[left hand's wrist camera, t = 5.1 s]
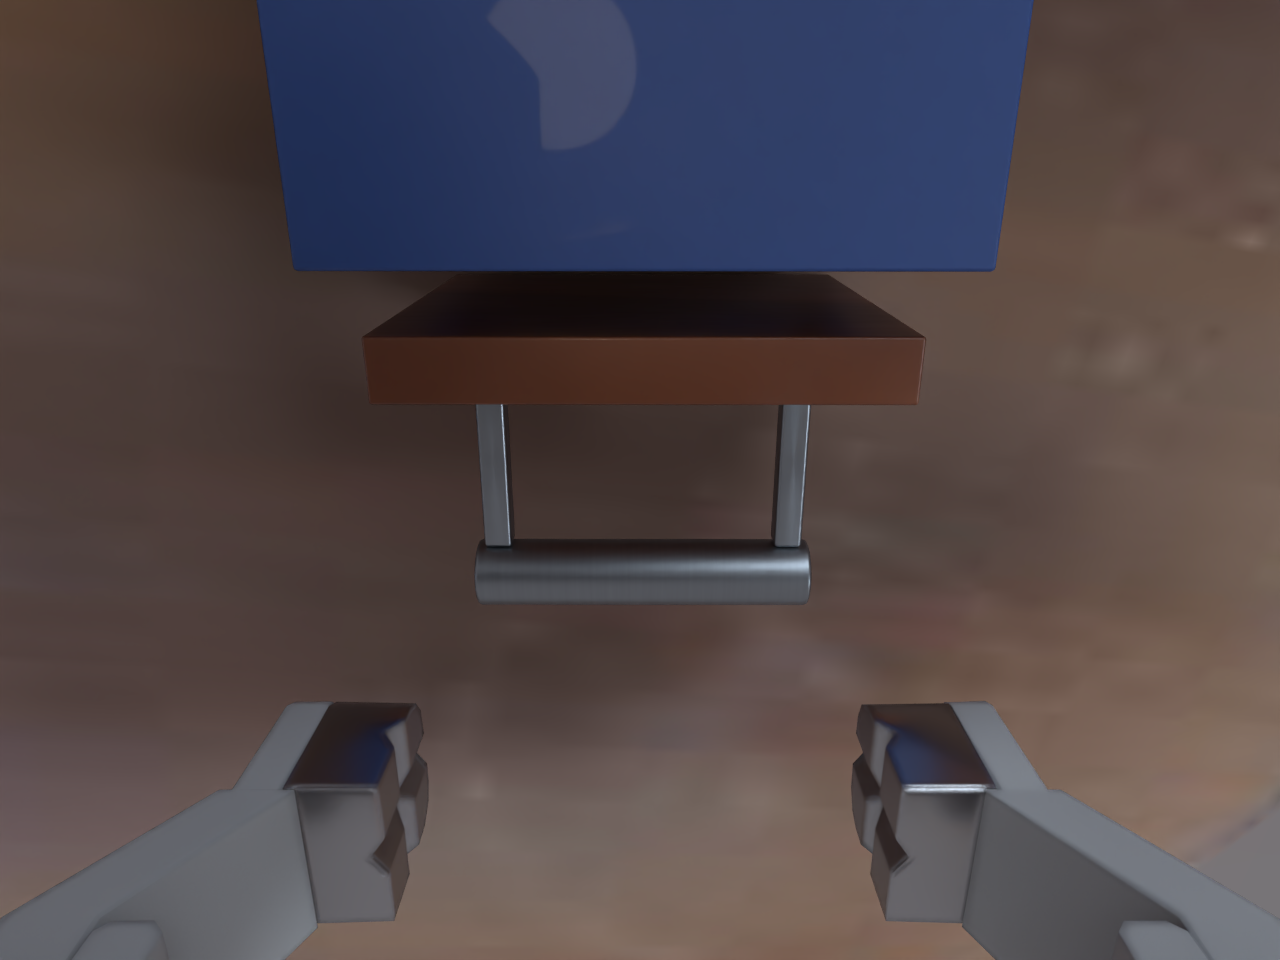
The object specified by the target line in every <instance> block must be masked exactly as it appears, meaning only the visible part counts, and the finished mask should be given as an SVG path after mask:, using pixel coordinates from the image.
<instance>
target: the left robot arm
mask: <svg viewBox="0 0 1280 960" xmlns="http://www.w3.org/2000/svg"><path fill="white" fill-rule="evenodd" d="M423 734H424V731H423V724H422V717H421V710H420V709H419V707H418V706H417V704H416V703H370V702H335V703H333V702H294V703H292V704H290V705H288V706H287V707H286V708H285V709H284V710H283V712H282V714H281V715H280V717H279V718H278V720H277V721H276V723H275V724H274V726H273V727H272V729H271V730H270V732H269V734H268V735H267V737H266V738H265V740H264V741H263V743H262V744H261V746H260V747H259V749H258V750H257V752H256V754H255V755H254V757H253V758H252V760H251V761H250V763H249V764H248V766H247V767H246V769H245V770H244V772H243V773H242V775H241V777H240V778H239V780H238V781H237V783H236V784H235V786H234V787H233V789H232V790H218V791H216V792H215V793H213V794H211V795H209V796H208V797H206V798H204V799H203V800H201V801H199V802H197V803H196V804H194V805H192V806H191V807H189V808H187V809H186V810H184V811H182V812H180V813H179V814H177V815H175V816H174V817H172V818H170V819H168V820H167V821H165V822H163V823H162V824H160V825H158V826H157V827H155V828H153V829H151V830H150V831H148V832H146V833H145V834H143V835H141V836H139V837H138V838H136V839H134V840H133V841H131V842H129V843H128V844H126V845H124V846H122V847H121V848H119V849H117V850H116V851H114V852H112V853H110V854H109V855H107V856H105V857H104V858H102V859H100V860H99V861H97V862H95V863H93V864H92V865H90V866H88V867H87V868H85V869H83V870H81V871H80V872H78V873H76V874H75V875H73V876H71V877H70V878H68V879H66V880H64V881H63V882H61V883H59V884H58V885H56V886H54V887H52V888H51V889H49V890H47V891H46V892H44V893H42V894H41V895H39V896H37V897H35V898H34V899H32V900H30V901H29V902H27V903H25V904H23V905H22V906H20V907H18V908H17V909H15V910H13V911H12V912H10V913H8V914H6V915H5V916H3V917H2V918H1V919H0V960H285V959H286V958H287V957H288V956H289V955H290V954H291V953H292V952H293V951H294V950H295V949H296V948H297V947H298V946H299V945H300V944H301V943H302V942H303V941H304V940H305V939H306V938H307V937H308V936H309V935H310V934H311V933H312V932H313V931H315V930H316V929H317V923H339V922H373V921H394V920H395V917H396V914H397V911H398V908H399V905H400V902H401V898H402V895H403V892H404V889H405V886H406V883H407V880H408V877H409V874H410V873H409V864H408V855H407V854H408V853H409V852H410V851H411V850H413V849H414V848H415V847H416V846H418V845H419V843H420V840H421V836H422V833H423V830H424V826H425V820H426V814H427V807H428V789H429V780H428V769H427V763H426V762H425V761H424V760H423V759H422V758H421V757H420V756H419V755H418V754H417V750H418V748H419V745H420V742H421V739H422V737H423ZM856 734H857V737H858V740H859V742H860V745H861V748H862V751H863V753H862V755H861V756H860V757H859V758H858V759H857V760H856V761H855V762H854V763H853V769H852V783H851V793H852V811H853V816H854V821H855V826H856V830H857V833H858V837H859V840H860V843H861V845H862V846H864V847H865V848H866V849H867V850H868V851H870V852H871V853H872V863H871V872H870V874H871V878H872V881H873V884H874V887H875V890H876V893H877V896H878V899H879V902H880V905H881V908H882V911H883V914H884V917H885V920H886V921H905V922H940V923H963V924H962V927H963V928H964V929H965V930H966V931H967V932H968V933H969V934H970V935H971V936H972V937H973V938H974V939H975V940H976V941H977V942H978V943H979V944H980V945H981V946H982V947H983V948H984V949H985V950H986V951H987V952H988V953H989V954H990V955H991V956H992V957H993V958H994V959H995V960H1280V919H1279V918H1278V917H1276V916H1274V915H1273V914H1271V913H1269V912H1268V911H1266V910H1264V909H1263V908H1261V907H1259V906H1257V905H1256V904H1254V903H1252V902H1251V901H1249V900H1247V899H1246V898H1244V897H1242V896H1240V895H1239V894H1237V893H1235V892H1234V891H1232V890H1230V889H1229V888H1227V887H1225V886H1223V885H1222V884H1220V883H1218V882H1217V881H1215V880H1213V879H1211V878H1210V877H1208V876H1206V875H1205V874H1203V873H1201V872H1200V871H1198V870H1196V869H1195V868H1193V867H1191V866H1189V865H1188V864H1186V863H1184V862H1183V861H1181V860H1179V859H1178V858H1176V857H1174V856H1172V855H1171V854H1169V853H1167V852H1166V851H1164V850H1162V849H1161V848H1159V847H1157V846H1155V845H1154V844H1152V843H1150V842H1149V841H1147V840H1145V839H1144V838H1142V837H1140V836H1138V835H1137V834H1135V833H1133V832H1132V831H1130V830H1128V829H1127V828H1125V827H1123V826H1121V825H1120V824H1118V823H1116V822H1115V821H1113V820H1111V819H1110V818H1108V817H1106V816H1104V815H1103V814H1101V813H1099V812H1098V811H1096V810H1094V809H1093V808H1091V807H1089V806H1087V805H1086V804H1084V803H1082V802H1081V801H1079V800H1077V799H1076V798H1074V797H1072V796H1070V795H1069V794H1067V793H1065V792H1064V791H1062V790H1048V789H1047V788H1046V786H1045V785H1044V783H1043V781H1042V780H1041V778H1040V777H1039V775H1038V774H1037V772H1036V771H1035V769H1034V768H1033V766H1032V765H1031V763H1030V762H1029V760H1028V759H1027V757H1026V756H1025V754H1024V753H1023V751H1022V750H1021V748H1020V747H1019V745H1018V744H1017V742H1016V740H1015V739H1014V737H1013V736H1012V734H1011V733H1010V731H1009V730H1008V728H1007V727H1006V725H1005V724H1004V722H1003V721H1002V719H1001V718H1000V716H999V715H998V713H997V712H996V710H995V709H994V707H993V706H992V705H991V704H989V703H988V702H986V701H972V702H944V703H936V704H863V705H861V708H860V712H859V715H858V722H857V730H856Z"/></svg>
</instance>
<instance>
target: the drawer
mask: <svg viewBox="0 0 1280 960" xmlns="http://www.w3.org/2000/svg"><path fill="white" fill-rule="evenodd" d="M925 344H926V338H925V337H924V336H922V335H921V334H919V333H918V332H916V331H915V330H913V329H912V328H910V327H908V326H907V325H905V324H904V323H902V322H901V321H899V320H898V319H896V318H895V317H893V316H891V315H890V314H888V313H887V312H885V311H884V310H882V309H881V308H879V307H877V306H876V305H874V304H873V303H871V302H870V301H868V300H867V299H865V298H863V297H862V296H860V295H859V294H857V293H856V292H854V291H853V290H851V289H850V288H848V287H846V286H845V285H843V284H842V283H840V282H839V281H837V280H836V279H834V278H832V277H831V276H829V275H746V274H458V275H456V276H454V277H453V278H451V279H450V280H448V281H447V282H445V283H444V284H442V285H441V286H439V287H438V288H436V289H435V290H433V291H432V292H430V293H429V294H427V295H426V296H424V297H422V298H421V299H419V300H418V301H416V302H415V303H413V304H412V305H410V306H409V307H407V308H406V309H404V310H403V311H401V312H400V313H398V314H397V315H395V316H394V317H392V318H390V319H389V320H387V321H386V322H384V323H383V324H381V325H380V326H378V327H377V328H375V329H374V330H372V331H371V332H369V333H368V334H366V335H365V336H363V337H362V345H363V354H364V362H365V371H366V380H367V389H368V397H369V403H370V404H372V405H476V420H477V434H478V449H479V463H480V478H481V492H482V507H483V521H484V536H485V539H483V540H481V541H480V542H479V544H478V547H477V551H476V558H475V591H476V596H477V599H478V602H479V603H480V604H556V605H804V604H806V603H807V601H808V599H809V595H810V590H811V559H810V552H809V548H808V545H807V543H806V541H805V540H802V539H801V535H802V521H803V507H804V494H805V480H806V466H807V453H808V439H809V425H810V412H811V405H917V404H918V402H919V394H920V386H921V377H922V369H923V360H924V352H925ZM508 405H779V407H778V424H777V441H776V458H775V475H774V492H773V508H772V525H771V537H772V539H514V536H515V528H514V510H513V492H512V474H511V456H510V438H509V420H508Z"/></svg>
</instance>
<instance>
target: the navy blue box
mask: <svg viewBox="0 0 1280 960" xmlns="http://www.w3.org/2000/svg"><path fill="white" fill-rule="evenodd" d="M257 7H258V14H259V22H260V29H261V36H262V43H263V51H264V58H265V65H266V72H267V80H268V87H269V94H270V101H271V109H272V116H273V123H274V130H275V138H276V145H277V152H278V159H279V167H280V174H281V181H282V188H283V196H284V203H285V210H286V217H287V225H288V232H289V239H290V246H291V254H292V261H293V267H294V269H295V270H297V271H943V272H990V271H993V270H994V269H995V266H996V259H997V252H998V245H999V238H1000V231H1001V224H1002V217H1003V210H1004V203H1005V196H1006V189H1007V182H1008V175H1009V168H1010V161H1011V154H1012V147H1013V140H1014V133H1015V126H1016V119H1017V112H1018V105H1019V98H1020V91H1021V84H1022V77H1023V70H1024V63H1025V56H1026V49H1027V42H1028V35H1029V28H1030V21H1031V14H1032V7H1033V0H257Z"/></svg>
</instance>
